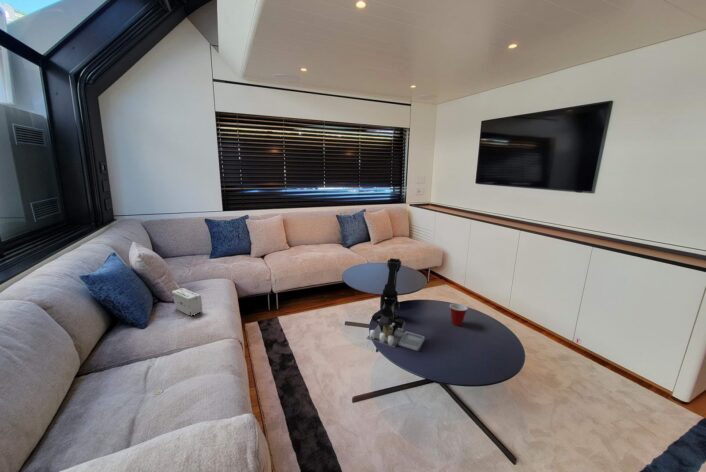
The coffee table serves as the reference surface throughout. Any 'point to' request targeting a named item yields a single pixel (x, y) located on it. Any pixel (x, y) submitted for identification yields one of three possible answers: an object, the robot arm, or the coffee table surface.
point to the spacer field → (389, 340)
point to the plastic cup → (457, 313)
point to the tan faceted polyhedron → (387, 331)
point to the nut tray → (411, 341)
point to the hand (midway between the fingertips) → (387, 333)
